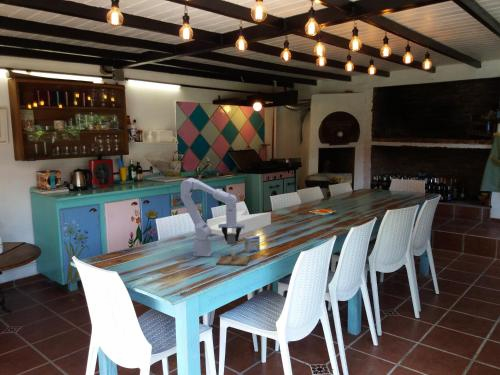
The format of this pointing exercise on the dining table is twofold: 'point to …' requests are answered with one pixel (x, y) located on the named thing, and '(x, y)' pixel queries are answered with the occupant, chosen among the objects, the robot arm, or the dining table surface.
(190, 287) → the dining table surface
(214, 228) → the white long open box
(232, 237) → the cap
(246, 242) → the medicine box
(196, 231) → the robot arm
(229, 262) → the post board
